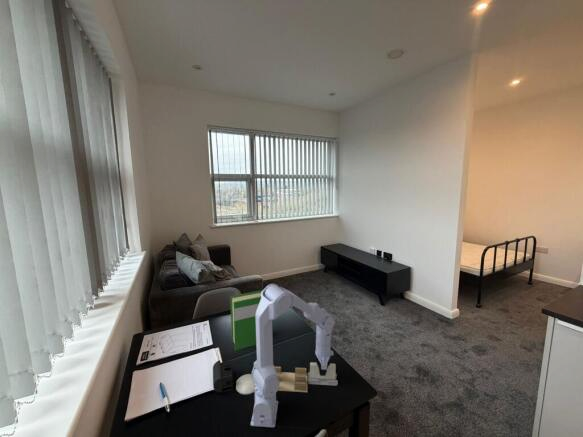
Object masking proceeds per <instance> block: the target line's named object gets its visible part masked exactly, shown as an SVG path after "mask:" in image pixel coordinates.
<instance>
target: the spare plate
mask: <svg viewBox="0 0 583 437" xmlns="http://www.w3.org/2000/svg"><path fill="white" fill-rule="evenodd" d="M235 390H236V391H237V392H238V393H239V394H240V395H251V394H253V393H255V380H254V379H253V378H252V373H248V374H247V373H246V374H244V375H241V376H240V377H239V378H238V379H237V380H236V382H235Z"/></svg>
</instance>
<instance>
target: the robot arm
mask: <svg viewBox="0 0 583 437" xmlns="http://www.w3.org/2000/svg"><path fill="white" fill-rule="evenodd" d="M294 307H295V308H296V309H298V310H300V311H302V312H303V316H304V318H306V319H308V320H309V321H311V322H313V323H314V324H316V325H315V326H316V331H315V351H314V352H315V357H316V358H315V363H317V365H318V368H319V373H320V376H325V375H326V372H327V368H328V366H329V365H330V363H331V356H334V351H333V350H331V348H332V347H331V344H332V332H333V328H334V326H335V323H336V320H335V319H334V316H333V315H332V314H330V313H328V312H327V310H326V309H325V308H321V307H320V304H318V303H317V302H306V301H305V300H303V299H302V298H301V297H299V296H298V295H296V294H295V293H293V292H292V291H290V290H288V289H286V288H284V287H282V286H279V285H278V284H276V283H270V284H267V285H266V287H265V288H264V289H263V291H262V292H261V300H260V303H259V305H258V308H257V311H256V315H255V317H256V345H255V346H256V360H255V361H254V362H253V368H252V371H251V374H252V378H253V379H254V380H255V392H254V406H253V411H252V416H251V421H250V426H251V427H260V428H261V427H263V428H264V427H265V428H275V427H276V421H277V412H278V405H279V401H278V400H277V392H279V391H278V389H279V385H280V383H279V380H278V379H277V373H276V370H275V367H274V366H275V365H274V345H273V344H274V342H273V341H274V340H273V339H274V337H273V320H276V319H277V318H278V317H280V316H281V315H282V314H284V313H285V312H287V311H288V310H289V309H290V310H291V309H292V308H294ZM331 364H332V363H331Z"/></svg>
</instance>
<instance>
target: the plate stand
mask: <svg viewBox="0 0 583 437" xmlns="http://www.w3.org/2000/svg"><path fill="white" fill-rule="evenodd" d="M337 375H338V374H337V373H335V379H320V378H310V371H308V372H307V377H308V378H307V384H308V385H322V386H338V383H339V382H338V380H337V377H338V376H337Z"/></svg>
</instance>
